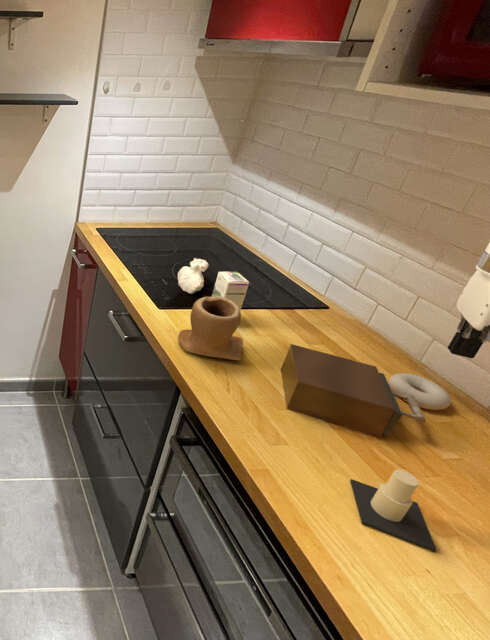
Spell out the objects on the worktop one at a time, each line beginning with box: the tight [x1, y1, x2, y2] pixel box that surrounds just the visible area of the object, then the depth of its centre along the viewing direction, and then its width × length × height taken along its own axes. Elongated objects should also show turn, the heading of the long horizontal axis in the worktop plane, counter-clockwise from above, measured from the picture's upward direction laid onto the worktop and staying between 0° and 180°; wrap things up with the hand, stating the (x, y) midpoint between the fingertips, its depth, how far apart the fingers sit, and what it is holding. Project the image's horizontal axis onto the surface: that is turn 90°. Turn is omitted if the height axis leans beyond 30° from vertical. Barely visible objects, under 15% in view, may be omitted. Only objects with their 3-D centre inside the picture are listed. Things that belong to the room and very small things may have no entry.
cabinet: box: [280, 343, 395, 439], centre depth 97 cm, size 16×15×8 cm
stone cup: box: [178, 296, 244, 361], centre depth 110 cm, size 15×12×15 cm
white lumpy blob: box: [177, 257, 210, 295], centre depth 141 cm, size 12×8×11 cm
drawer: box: [379, 372, 427, 437], centre depth 95 cm, size 19×13×6 cm
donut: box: [388, 372, 452, 411], centre depth 99 cm, size 10×3×10 cm
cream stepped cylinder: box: [371, 468, 420, 522], centre depth 73 cm, size 4×4×8 cm
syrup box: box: [211, 271, 250, 311], centre depth 123 cm, size 6×6×14 cm
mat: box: [350, 478, 437, 553], centre depth 75 cm, size 9×9×1 cm
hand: (459, 353), depth 84 cm, fingers closed
